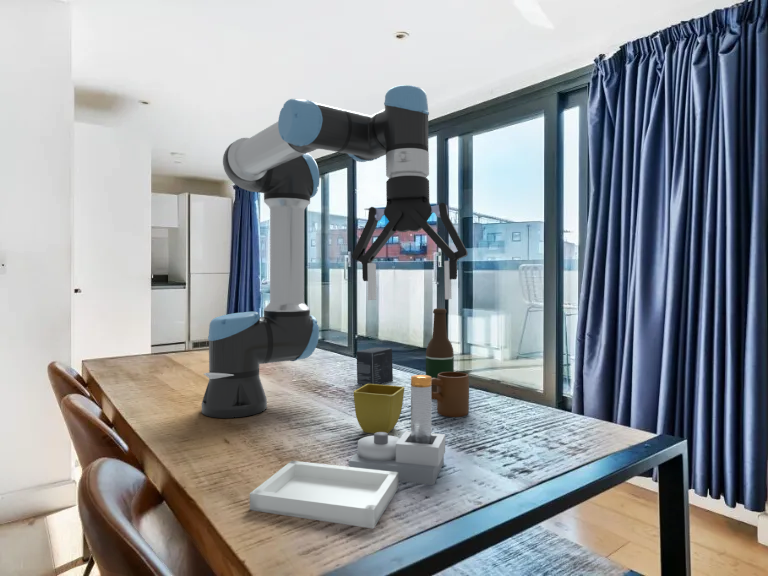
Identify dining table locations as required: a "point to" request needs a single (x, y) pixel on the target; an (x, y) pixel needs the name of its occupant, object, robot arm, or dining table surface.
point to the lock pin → (421, 409)
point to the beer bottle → (439, 348)
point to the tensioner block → (401, 456)
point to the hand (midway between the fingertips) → (409, 299)
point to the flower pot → (378, 407)
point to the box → (374, 366)
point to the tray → (327, 493)
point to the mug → (451, 393)
